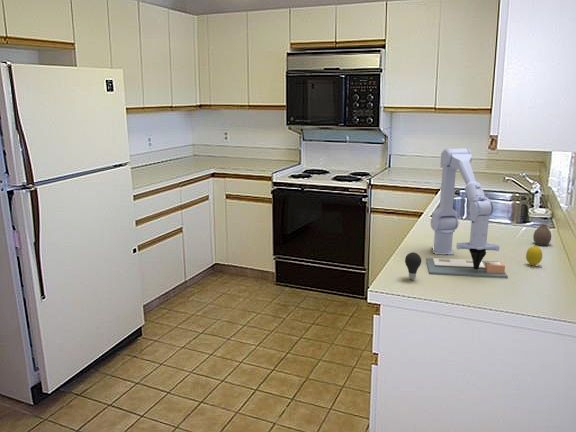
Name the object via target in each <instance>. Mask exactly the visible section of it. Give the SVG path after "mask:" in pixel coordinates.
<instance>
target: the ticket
mask: <svg viewBox="0 0 576 432" xmlns="http://www.w3.org/2000/svg"><path fill="white" fill-rule="evenodd" d="M433 261H434V265H435V266H436V267H455V268H473V260H472V259H462V258H461V259H460V258H459V259H458V258H438V257H436V258H435V257H433ZM482 261H483V260H482ZM482 261H481V263H480V265H479V268H478V269H485V266H484V264H483V262H482Z"/></svg>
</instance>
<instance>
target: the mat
mask: <svg viewBox="0 0 576 432" xmlns="http://www.w3.org/2000/svg"><path fill="white" fill-rule="evenodd" d="M433 258H434V257H433ZM433 258H431V257H426V258H425V261H427V262H426V266H427V265H428V266H427V270H428V274H429V275H437V276H438V275H439V276H456V277H457V276H458V277H475V278H476V277H477V278H478V277H479V278H493V279H494V278H495V279H508V278H509V275H508V274H507V273H506V271H505V272H504V274H498V273H487V272H486V271H485V269H474V268H455V267H436V266H435V265H434V261H433ZM485 261H487V262H498V261H496V260H495V261H492V260H482V262H483V264H484V266H485Z"/></svg>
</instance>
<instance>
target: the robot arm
mask: <svg viewBox="0 0 576 432" xmlns="http://www.w3.org/2000/svg"><path fill="white" fill-rule="evenodd" d="M472 160H473V154H472V151H471V149H470V148H469V147H464V148H463V147H462V148H460V147H459V148H445V149H443V150H442V152H441V153H440V168H441V169H442V171H441V173H442V174H441V185H440V186H441V187H440V197H439V207H438V208H437V209H435V210H434V211H432V215H431V219H430V227H431V229H432V230H433V231H434V237H433V246H434V250H433V251H432V254H433V253H436V254H435V255H446V254H448V255H454V251H453V248H452V247H453V238H454V237H453V235H454V233H455V231H456V230H457V229H458V227H459V223H460V222H459V217H458V216H459V214H458V212H457V211H456V210H455V209H454V197H455V186H456V185H455V184H456V175H457V174H456V173H457V170H458V171H459V173H460V176H461V177H462V179H463V181H464V183H465V187H464V191H465V194H466V197H467V199H468V201H469V206H468V210H469V215H470V216H469V219H470V221H471V224H470V232H469V233H470V235H469V236H470V237H469V242H457V243H456V246H455V247H456V250H469V251H468V252H469V253H470V256H471V260H473V268H474V269H478V268H479V265H480V263H481V261H483V259H484V258H485V256H486V255H487V251H496V252H500V246H501V245H499V244H496V243H495V244H494V243H487V242H488V241H487V240H488V231H489V220H490V216H492V214H493V213H494V203H493V201H492V200H491V199H489V197H488V196H486V194H485V192H484V190H483V187H482V184H481V183H480V182H478V181H477V180H476V176H475V174H474V171H473V167H472ZM448 255H447V256H448Z"/></svg>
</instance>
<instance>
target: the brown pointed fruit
mask: <svg viewBox="0 0 576 432" xmlns="http://www.w3.org/2000/svg"><path fill="white" fill-rule="evenodd" d="M532 236H533V237H532V239H533V242H534V243H535V245H536V246H537V245H538V246H540V247H546V246H547V245H549V244H550V243H551V240H552V233H551V231H550V229H549V228H548V225H547V224H545V223H544V224H540V225H539V226H538V227H537V229H536V230H534V232H533V235H532Z"/></svg>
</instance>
